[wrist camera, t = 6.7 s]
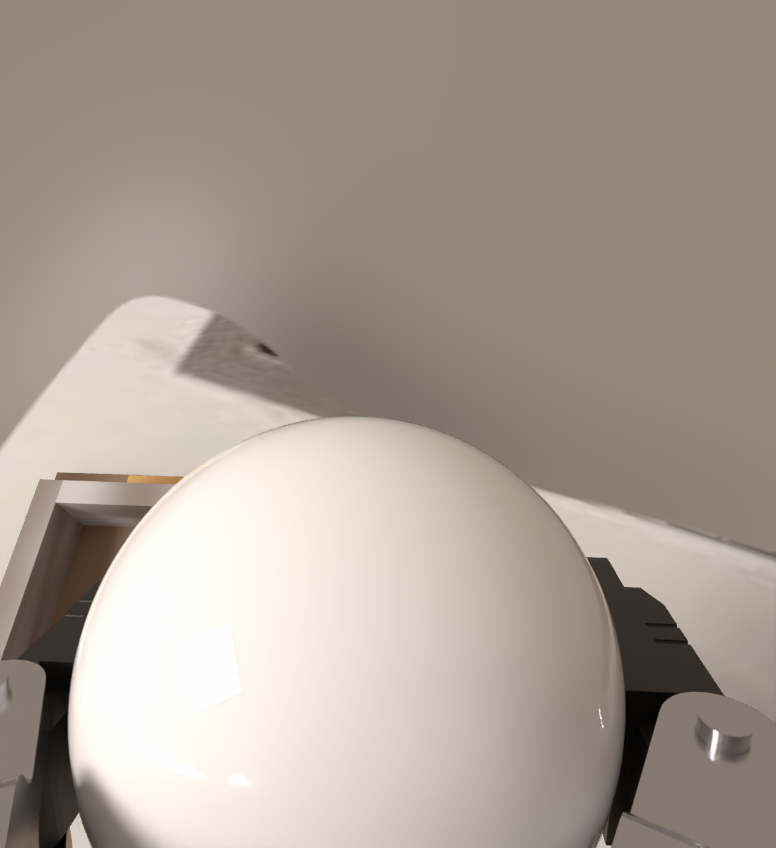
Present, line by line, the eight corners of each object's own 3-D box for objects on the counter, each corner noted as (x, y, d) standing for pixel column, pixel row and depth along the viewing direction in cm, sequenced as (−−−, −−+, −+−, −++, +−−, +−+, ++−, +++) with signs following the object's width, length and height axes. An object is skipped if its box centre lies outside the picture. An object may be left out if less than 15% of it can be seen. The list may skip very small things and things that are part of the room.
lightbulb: (472, 958, 12) (634, 1497, 3) (197, 814, 14) (-286, 862, 4) (555, 647, 15) (773, 412, 6) (320, 554, 17) (188, 245, 7)
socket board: (317, 490, 29) (306, 456, 26) (277, 820, 23) (256, 824, 20) (67, 481, 30) (28, 447, 27) (-41, 798, 23) (-108, 799, 20)
